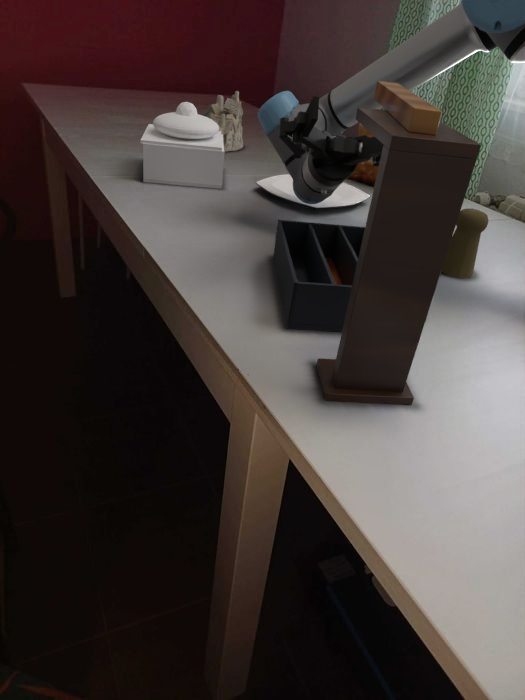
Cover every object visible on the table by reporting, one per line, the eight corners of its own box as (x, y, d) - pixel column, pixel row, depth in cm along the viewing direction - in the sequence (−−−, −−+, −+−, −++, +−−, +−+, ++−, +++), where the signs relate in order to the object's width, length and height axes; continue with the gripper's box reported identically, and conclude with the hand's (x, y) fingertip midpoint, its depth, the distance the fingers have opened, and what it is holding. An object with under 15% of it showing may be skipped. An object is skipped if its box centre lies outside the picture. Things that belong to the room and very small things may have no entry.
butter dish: (222, 188, 121) (227, 113, 113) (140, 181, 119) (140, 104, 111) (221, 168, 136) (225, 100, 128) (148, 161, 134) (148, 91, 125)
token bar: (373, 98, 65) (377, 80, 63) (394, 101, 65) (398, 83, 64) (408, 132, 48) (414, 107, 47) (436, 135, 48) (442, 111, 47)
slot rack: (272, 258, 92) (277, 219, 88) (361, 264, 93) (369, 227, 90) (287, 328, 72) (294, 282, 68) (398, 335, 74) (410, 291, 70)
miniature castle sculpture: (213, 134, 167) (215, 82, 158) (253, 149, 159) (258, 94, 150) (176, 143, 156) (176, 87, 147) (217, 159, 149) (220, 101, 140)
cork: (441, 260, 99) (459, 202, 93) (474, 269, 97) (495, 210, 91) (435, 271, 94) (454, 210, 89) (470, 281, 93) (492, 219, 87)
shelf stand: (307, 330, 72) (348, 106, 57) (379, 335, 73) (438, 116, 58) (325, 400, 60) (384, 136, 45) (411, 404, 61) (497, 148, 46)
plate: (241, 188, 123) (242, 180, 122) (309, 178, 138) (310, 170, 137) (315, 221, 110) (316, 211, 109) (381, 205, 124) (383, 197, 123)
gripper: (401, 193, 89) (462, 154, 68) (252, 179, 86) (267, 134, 65) (404, 147, 89) (467, 93, 68) (254, 132, 86) (271, 71, 65)
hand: (369, 113), depth 66 cm, fingers open, 13 cm apart
